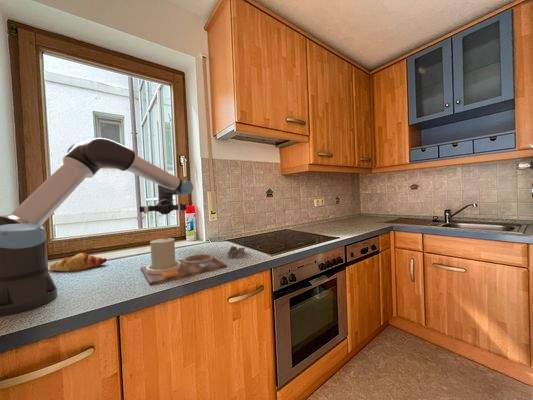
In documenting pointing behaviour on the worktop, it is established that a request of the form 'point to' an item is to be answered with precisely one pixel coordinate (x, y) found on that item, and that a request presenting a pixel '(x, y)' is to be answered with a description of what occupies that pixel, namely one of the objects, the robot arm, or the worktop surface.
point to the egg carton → (235, 252)
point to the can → (162, 253)
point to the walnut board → (187, 268)
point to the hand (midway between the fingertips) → (162, 209)
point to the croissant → (78, 263)
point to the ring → (165, 270)
